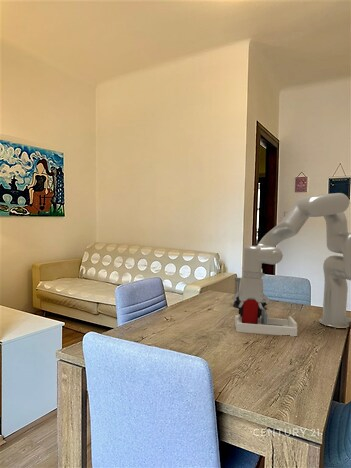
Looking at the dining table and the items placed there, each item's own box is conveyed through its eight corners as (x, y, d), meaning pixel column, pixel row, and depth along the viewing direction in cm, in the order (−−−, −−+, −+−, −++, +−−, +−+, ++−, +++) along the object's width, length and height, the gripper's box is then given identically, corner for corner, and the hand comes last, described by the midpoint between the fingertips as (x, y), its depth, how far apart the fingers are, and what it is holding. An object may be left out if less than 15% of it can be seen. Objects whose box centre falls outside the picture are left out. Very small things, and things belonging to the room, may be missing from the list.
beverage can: (256, 322, 141) (257, 295, 140) (258, 328, 134) (260, 299, 134) (240, 321, 141) (241, 294, 141) (242, 326, 135) (243, 298, 134)
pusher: (281, 324, 140) (281, 309, 140) (285, 331, 132) (286, 315, 131) (261, 323, 141) (261, 307, 141) (264, 329, 133) (264, 313, 132)
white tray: (290, 327, 141) (291, 316, 141) (296, 336, 130) (297, 324, 130) (234, 323, 144) (235, 311, 144) (236, 331, 133) (237, 319, 133)
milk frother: (229, 305, 174) (230, 278, 174) (252, 302, 182) (253, 276, 181) (246, 312, 162) (248, 283, 161) (270, 309, 169) (271, 281, 169)
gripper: (271, 274, 139) (269, 315, 140) (230, 272, 141) (228, 312, 142) (274, 278, 132) (272, 321, 133) (231, 275, 134) (229, 317, 135)
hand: (249, 316), depth 138 cm, fingers closed on beverage can, 6 cm apart
